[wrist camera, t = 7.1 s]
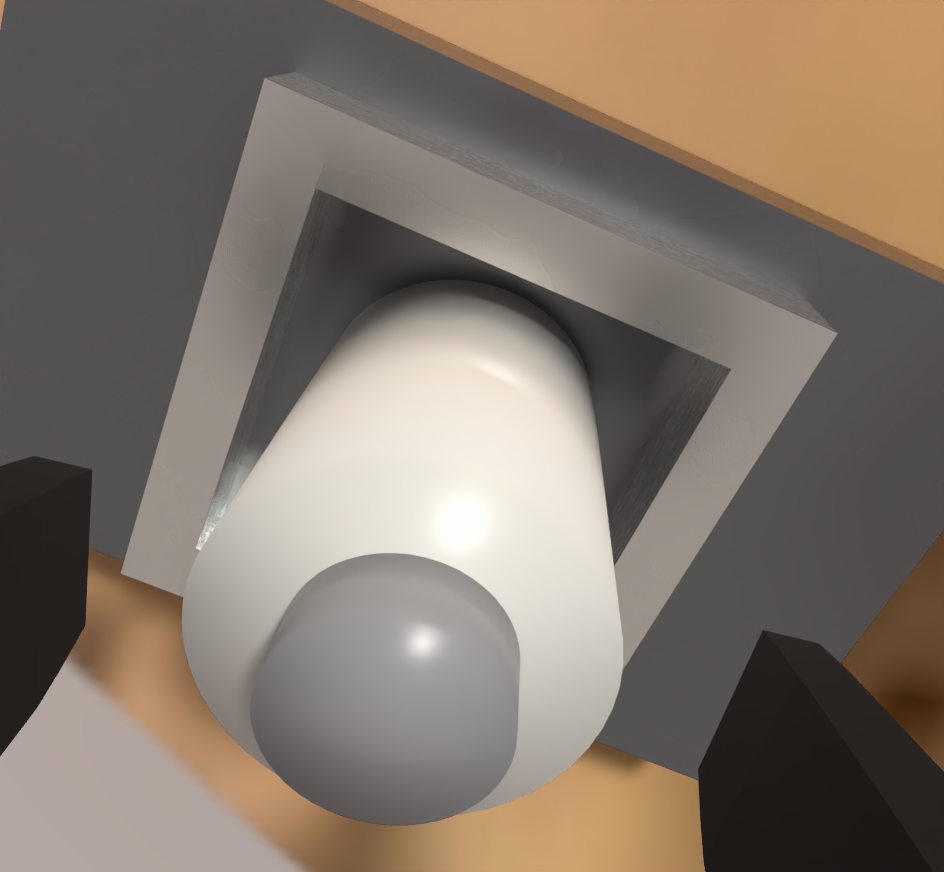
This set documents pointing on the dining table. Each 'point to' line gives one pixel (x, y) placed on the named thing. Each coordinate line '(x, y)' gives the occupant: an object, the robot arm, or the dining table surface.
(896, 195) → the dining table surface
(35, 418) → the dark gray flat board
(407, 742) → the white capped cylinder
